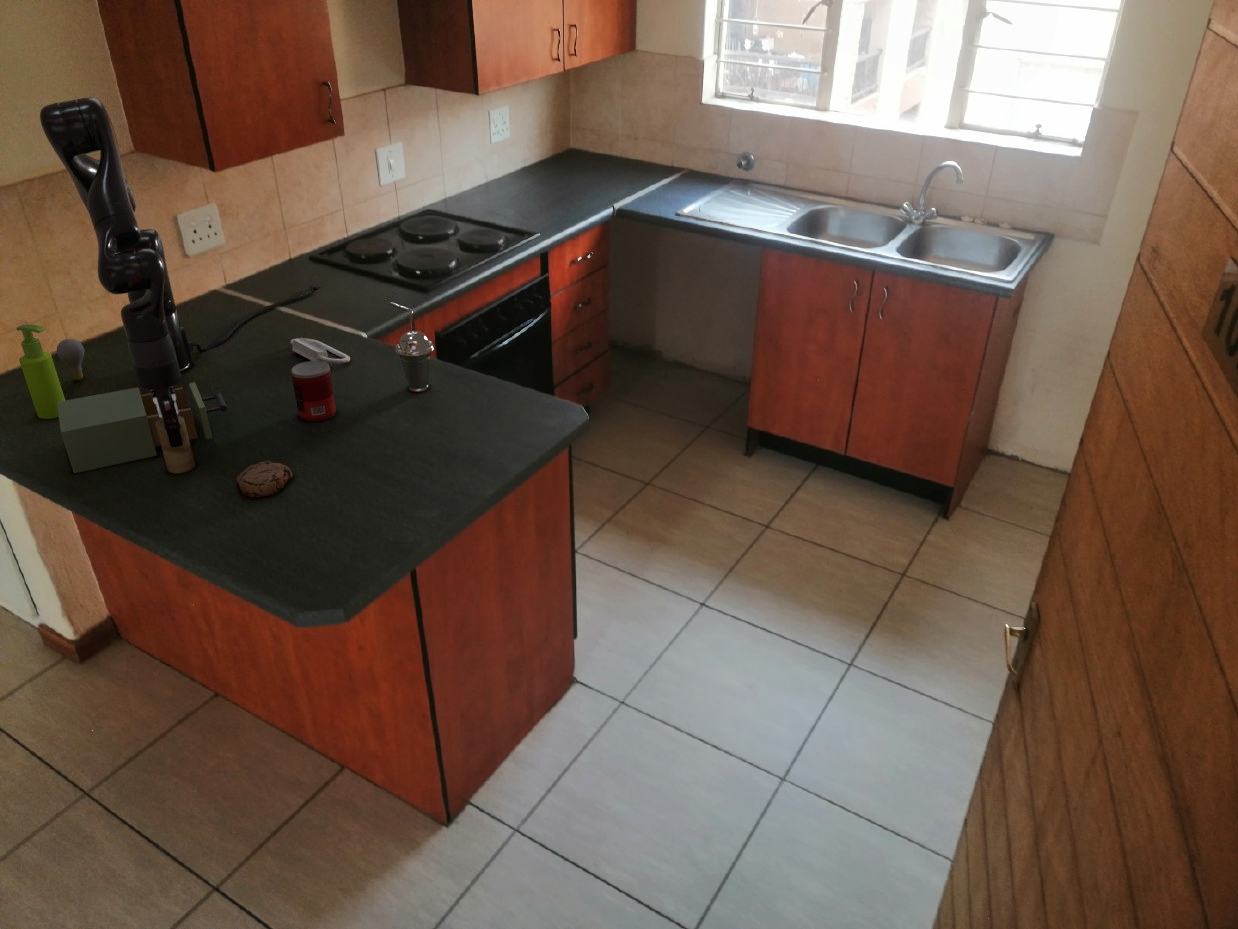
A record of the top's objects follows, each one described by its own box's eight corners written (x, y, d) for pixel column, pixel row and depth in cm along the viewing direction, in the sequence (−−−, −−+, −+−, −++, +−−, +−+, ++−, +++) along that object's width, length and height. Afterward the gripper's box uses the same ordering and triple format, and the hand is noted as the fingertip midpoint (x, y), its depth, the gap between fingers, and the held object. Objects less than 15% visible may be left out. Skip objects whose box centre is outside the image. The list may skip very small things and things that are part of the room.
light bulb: (97, 376, 219) (86, 336, 214) (79, 386, 214) (66, 345, 209) (79, 373, 220) (67, 333, 215) (60, 382, 216) (47, 342, 211)
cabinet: (148, 425, 198) (138, 387, 193) (157, 455, 187) (146, 415, 182) (69, 441, 191) (57, 401, 187) (74, 473, 180) (60, 432, 176)
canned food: (344, 410, 205) (337, 364, 200) (319, 425, 199) (311, 378, 193) (316, 403, 208) (308, 357, 202) (291, 418, 201) (282, 371, 196)
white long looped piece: (355, 368, 228) (357, 353, 227) (326, 370, 222) (327, 354, 221) (312, 346, 240) (313, 331, 239) (282, 347, 234) (283, 332, 233)
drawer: (222, 408, 203) (216, 378, 200) (234, 433, 193) (227, 402, 190) (132, 425, 196) (124, 395, 192) (139, 453, 185) (131, 421, 182)
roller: (184, 458, 186) (171, 406, 180) (200, 465, 183) (187, 412, 178) (161, 469, 182) (147, 416, 176) (178, 476, 180) (164, 422, 174)
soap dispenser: (59, 420, 199) (31, 332, 189) (31, 417, 200) (1, 329, 191) (78, 408, 204) (52, 322, 194) (50, 405, 205) (23, 319, 196)
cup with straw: (412, 399, 210) (402, 314, 200) (391, 386, 216) (381, 303, 206) (444, 389, 215) (437, 306, 205) (423, 376, 221) (415, 295, 211)
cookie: (240, 502, 172) (237, 488, 170) (236, 475, 180) (233, 462, 179) (296, 492, 175) (294, 478, 174) (290, 466, 184) (287, 452, 182)
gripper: (181, 368, 168) (200, 448, 176) (170, 341, 178) (189, 418, 187) (135, 376, 164) (157, 457, 172) (127, 348, 175) (148, 426, 183)
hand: (174, 436), depth 179 cm, fingers open, 7 cm apart
